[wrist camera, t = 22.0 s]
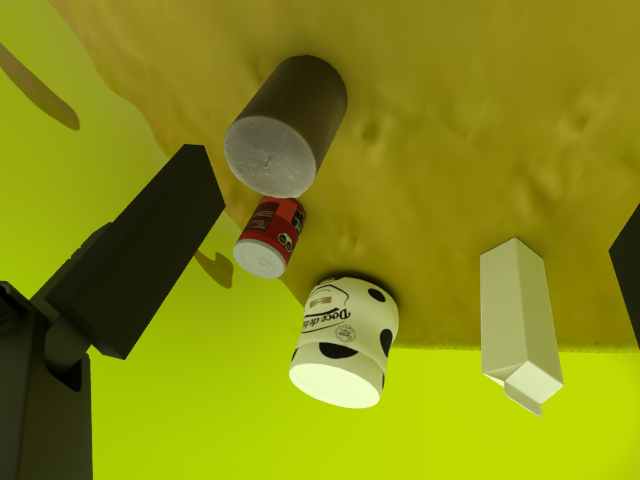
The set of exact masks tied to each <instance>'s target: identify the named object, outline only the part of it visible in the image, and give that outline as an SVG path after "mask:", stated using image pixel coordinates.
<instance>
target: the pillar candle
mask: <svg viewBox="0 0 640 480" xmlns="http://www.w3.org/2000/svg"><path fill="white" fill-rule="evenodd" d="M346 109H347V95H346V89H345V86H344V83H343V81H342V79H341V77H340V76H339V74H338V73H337V72H336V70H334V69H333V67H331V66H330V65H329V64H327V63H326V62H324V61H322V60H320V59H318V58H316V57H313V56H309V55H304V56H299V57H291V58H289V59H287V60H285V61H284V62H282V63H281V64H280V65H279V66H278V67H277V68H276V70H275V71H274V72H273V74H272V75H271V76H270V77H269V78H268V79H267V81H266V82H265V83H264V84H263V86H262V87H261V88H260V89H259V91H258V92H257V93H256V94H255V96H254V97H253V98H252V99H251V101H250V102H249V103H248V104H247V106H246V107H245V108H244V109H243V111H242V112H241V113H240V114H239V116H238V117H237V118H236V119H235V121H234V122H233V123H232V124H231V125H230V127H229V128H228V130H227V132H226V135H225V138H224V152H225V157H226V160H227V161H228V164H229V166H230V169H231V171H232V172H233V173H234V174H235V176H236V177H237V178H238V179H239V180H240V181H242V182H243V183H244V184H246V185H248V186H249V187H250V188H252V189H253V190H254V191H258V192H259V193H261V194H263V195H267V196H272V197H274V198H290V197H294V198H295V197H299V196H300V195H302V193H303V192H305V191H306V190H307V189H308V188H309V187H310V186H311V184H312V183H313V181H314V179H315V177H316V175H317V172H318V170H319V168H320V166H321V164H322V162H323V159H324V157H325V155H326V153H327V151H328V149H329V147H330V144H331V142H332V140H333V138H334V136H335V134H336V132H337V130H338V127H339V125H340V123H341V121H342V118H343V117H344V114H345V112H346Z"/></svg>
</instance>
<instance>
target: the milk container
mask: <svg viewBox="0 0 640 480" xmlns="http://www.w3.org/2000/svg"><path fill="white" fill-rule="evenodd" d="M398 326H399V316H398V308H397V306H396V303H395V301H394V300H393V298H392V297H391V296H390V295H389V293H387V292H386V291H385V290H383V289H382V288H381V287H379V286H377V285H376V284H374V283H371V282H369V281H366V280H364V279H360V278H354V277H349V276H342V277H332V278H328V279H326V280H323V281H321V282H320V283H319V284H318V285H316V286H315V288H314V289H313V290H312V292H311V294H310V295H309V297H308V299H307V302H306V305H305V309H304V323H303V329H302V332H301V335H300V337H299V340H298V342H297V345H296V348H295V352H294V354H293V357H292V362H291V366H290V374H289V377H290V379H291V380H292V382H293V383H294V384H295V385H296V386H297V387H298V388H299V389H301V390H302V391H303V392H305V393H307V394H309V395H310V396H312V397H314V398H316V399H319V400H321V401H324V402H326V403H330V404H334V405H338V406H342V407H350V408H366V407H370V406H373V405H375V404H376V403H377V402H378V400H379V399H380V396H381V393H382V390H383V386H384V377H385V374H386V367H387V359H388V354H389V350H390V348H391V346H392V344H393V342H394V340H395V337H396V335H397V331H398Z"/></svg>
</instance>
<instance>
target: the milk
mask: <svg viewBox="0 0 640 480" xmlns="http://www.w3.org/2000/svg"><path fill="white" fill-rule="evenodd" d="M480 289H481V359H482V373H483V374H484V375H486V376H487V377H489V378H491V379H492V380H494V381H495V382H497V383H498V384H500V385H501V386H503V387H504V391H505V394H506V396H507V397H509V398H510V399H512V400H514V401H515V402H516V403H518V404H520V405H521V406H523V407H524V408H526V409H527V410H529V411H530V412H532V413H534V414H535V415H537V416H538V417H541V416H542V413H541V404H542V403H543V402H545V401H546V400H547V399H548V398H549V397H551V396H552V395H553V394H554V393H555V392H557V391H558V390H559V389H560V388H561V387H562V386H563V378H562V372H561V366H560V360H559V354H558V347H557V341H556V335H555V329H554V323H553V317H552V310H551V304H550V298H549V292H548V286H547V280H546V273H545V267H544V261H543V259H542V258H541V257H540V256H538V255H537V254H536V253H535V252H533V251H532V250H531V249H530V248H528V247H527V246H526V245H525V244H523V243H522V242H521V241H520V240H518V239H517V238H516V237H514V238H512V239H511V240H509V241H507V242H505V243H503V244H501V245H499V246H497V247H495V248H493V249H491V250H489V251H488V252H486V253H484V254H482V255H480Z"/></svg>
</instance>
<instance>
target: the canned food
mask: <svg viewBox="0 0 640 480" xmlns="http://www.w3.org/2000/svg"><path fill="white" fill-rule="evenodd" d="M304 225H305V212H304V210H303V208H302V207H301V205H300V204H299V203H298V202H297V201H295V200H294V199H292V198H291V197H290V198H274V197H272V196H266V197H265V198H263V199H262V200H261V202H260V203H259V205H258V206H257V208H256V210H255V212H254V213H253V215H252V217H251V218H250V220H249V222H248V223H247V225H246V227H245V229H244V230H243V232H242V234H241V235H240V237H239V239H238V241H237V242H236V244H235V247H234V249H233V255H234V258H235V260H236V261H237V263H238V264H239V265H240V266H241V267H242V268H244V269H245V270H246V271H248V272H250V273H251V274H254V275H256V276H259V277H262V278H270V279H271V278H277V277H279V276H281V275H282V274H283V272H284V271H285V269H286V266H287V264H288V262H289V260H290V257H291V255H292V253H293V250H294V248H295V246H296V243H297V241H298V239H299V236H300V234H301V232H302V229H303V227H304Z"/></svg>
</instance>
